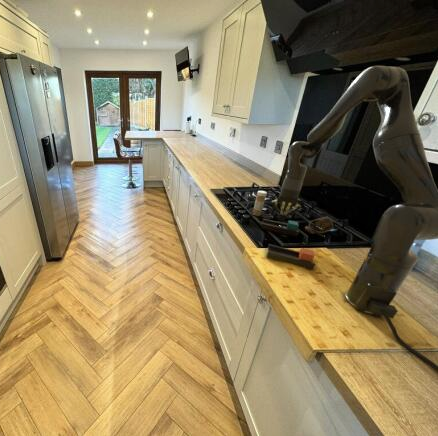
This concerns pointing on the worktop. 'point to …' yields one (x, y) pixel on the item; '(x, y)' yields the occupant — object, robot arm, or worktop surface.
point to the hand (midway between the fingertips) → (280, 221)
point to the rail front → (288, 256)
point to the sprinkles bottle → (259, 202)
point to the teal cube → (292, 225)
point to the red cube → (306, 255)
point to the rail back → (278, 227)
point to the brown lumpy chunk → (320, 225)
